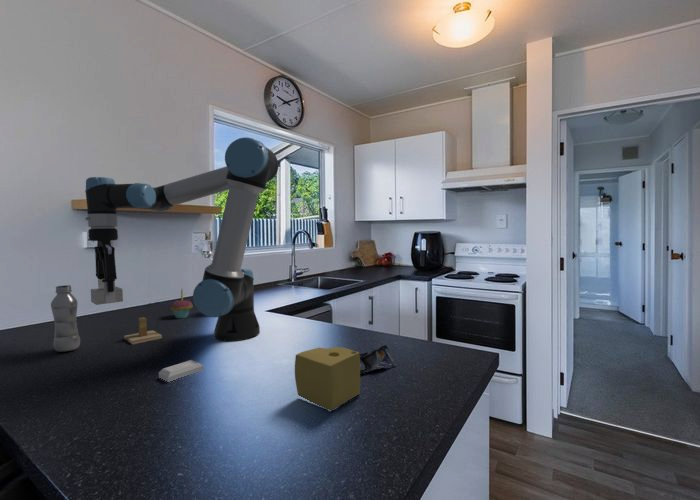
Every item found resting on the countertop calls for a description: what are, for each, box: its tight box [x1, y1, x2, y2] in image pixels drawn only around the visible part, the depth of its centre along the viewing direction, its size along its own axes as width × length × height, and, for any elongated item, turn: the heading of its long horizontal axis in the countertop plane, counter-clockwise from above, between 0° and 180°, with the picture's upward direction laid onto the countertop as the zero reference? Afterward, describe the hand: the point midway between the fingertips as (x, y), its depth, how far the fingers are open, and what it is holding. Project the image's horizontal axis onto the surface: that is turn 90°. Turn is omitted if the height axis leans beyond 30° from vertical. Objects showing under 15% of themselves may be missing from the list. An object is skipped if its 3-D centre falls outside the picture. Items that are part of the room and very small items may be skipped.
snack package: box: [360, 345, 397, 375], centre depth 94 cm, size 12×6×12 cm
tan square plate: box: [123, 316, 163, 345], centre depth 122 cm, size 9×9×7 cm
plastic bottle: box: [50, 284, 81, 353], centre depth 110 cm, size 6×7×20 cm
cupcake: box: [170, 289, 194, 319], centre depth 151 cm, size 9×8×12 cm
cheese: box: [294, 346, 361, 410], centre depth 78 cm, size 10×11×10 cm
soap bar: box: [158, 359, 204, 383], centre depth 92 cm, size 5×9×3 cm, turn 142°
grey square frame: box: [90, 286, 124, 306], centre depth 113 cm, size 7×7×4 cm
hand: (107, 300), depth 113 cm, fingers closed on grey square frame, 7 cm apart
